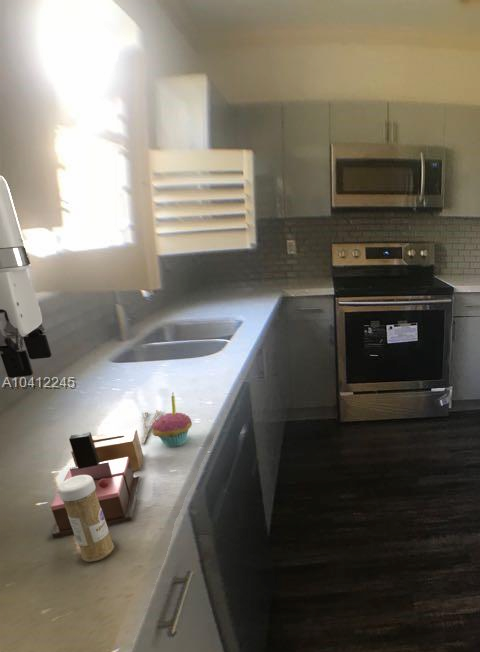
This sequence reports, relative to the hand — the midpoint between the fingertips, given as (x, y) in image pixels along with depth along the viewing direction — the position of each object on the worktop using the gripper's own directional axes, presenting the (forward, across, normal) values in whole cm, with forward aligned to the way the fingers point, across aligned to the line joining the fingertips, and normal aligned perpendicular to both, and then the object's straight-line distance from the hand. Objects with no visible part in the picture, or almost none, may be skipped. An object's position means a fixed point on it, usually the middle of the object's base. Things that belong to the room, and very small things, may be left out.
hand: (31, 366), depth 76 cm
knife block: (+27, -12, +5) cm, 30 cm away
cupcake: (+27, -19, +17) cm, 37 cm away
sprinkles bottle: (+28, +16, +7) cm, 33 cm away
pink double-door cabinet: (+27, +2, +5) cm, 28 cm away
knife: (+27, +2, +5) cm, 27 cm away
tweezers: (+28, -30, +10) cm, 42 cm away
